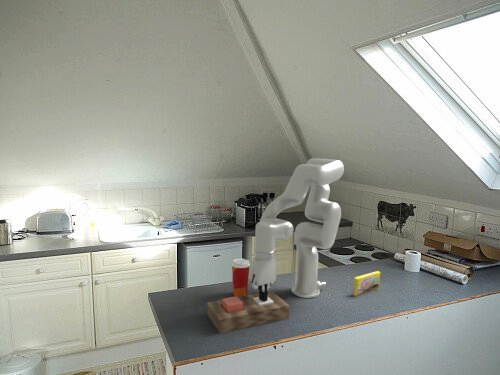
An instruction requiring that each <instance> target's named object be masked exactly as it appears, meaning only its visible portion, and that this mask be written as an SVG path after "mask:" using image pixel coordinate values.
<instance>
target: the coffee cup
mask: <svg viewBox="0 0 500 375" xmlns="http://www.w3.org/2000/svg"><path fill="white" fill-rule="evenodd" d="M230 265H231V272H232V275H231V276H232V294H233V297H235V296H237V297H241V296H247V295H248V287H249V278H250V277H249V274H250V267H251V262H250V260H249V259H246V258H234V259H233V260H232V261H231V263H230Z"/></svg>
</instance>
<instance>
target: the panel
mask: <svg viewBox="0 0 500 375" xmlns="http://www.w3.org/2000/svg"><path fill="white" fill-rule="evenodd" d="M256 297H259V292H257V293H254V294H247V295H246V296H241V297H238V298H239V299H240V300H241V301H242V302H243V310H240V311H235V312H230V313H227V312H226V311H225V310H224V308H223V307H222V299H220V300H215V301H209V302H207V305H206V309H207V310H206V315H207V317H208V318H209V320H210V321H211V322H212V325H214V327H215V329H216V330H217V331H218V332H219V334H223V333H228V332H231V331H235V330H242V329H246V328H249V327H254V326H259V325H262V324H266V323H272V322H276V321H281V320H286V319H289V318H290V305H289V304H288V303H287V302H286V301H284V300H283V299H282V298H281V297H280V296H278V294H276V293H275V292H274V291H273V290H268V297H269V298H270V299H271V300H272V301H274V304H270V305H265V306H260V307H259V306H258V305H257V304H256V303H255V302H254V301H253V298H256Z"/></svg>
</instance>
